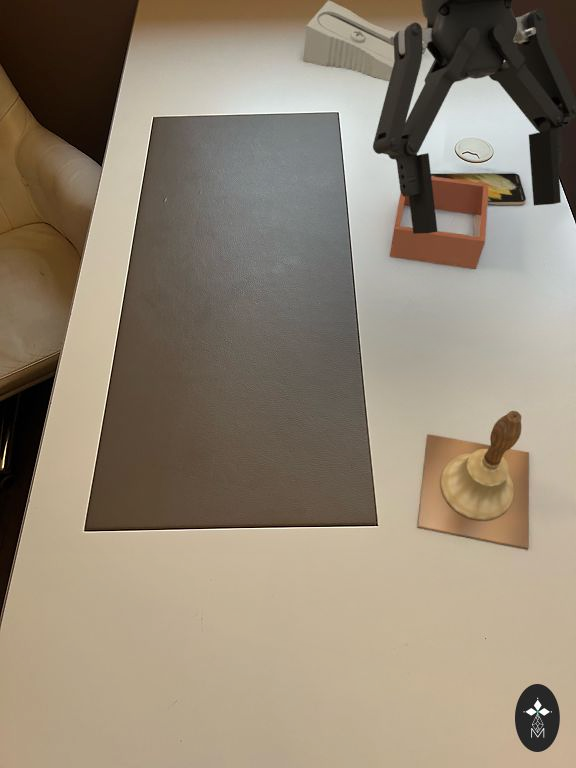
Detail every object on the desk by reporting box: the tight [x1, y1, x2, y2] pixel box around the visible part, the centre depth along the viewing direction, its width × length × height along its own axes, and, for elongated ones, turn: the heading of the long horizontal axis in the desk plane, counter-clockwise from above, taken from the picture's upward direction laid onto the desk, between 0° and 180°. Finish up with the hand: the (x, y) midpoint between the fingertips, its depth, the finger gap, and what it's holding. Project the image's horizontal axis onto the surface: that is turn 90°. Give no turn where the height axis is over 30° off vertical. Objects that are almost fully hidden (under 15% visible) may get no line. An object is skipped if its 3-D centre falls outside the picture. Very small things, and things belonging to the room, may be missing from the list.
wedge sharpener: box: [302, 0, 397, 82], centre depth 122 cm, size 11×20×7 cm, turn 65°
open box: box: [389, 176, 489, 270], centre depth 94 cm, size 13×13×6 cm
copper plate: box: [417, 433, 530, 550], centre depth 72 cm, size 12×12×1 cm
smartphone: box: [431, 172, 527, 205], centre depth 101 cm, size 7×1×15 cm
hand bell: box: [440, 410, 522, 521], centre depth 65 cm, size 8×8×16 cm
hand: (488, 218), depth 57 cm, fingers open, 13 cm apart
